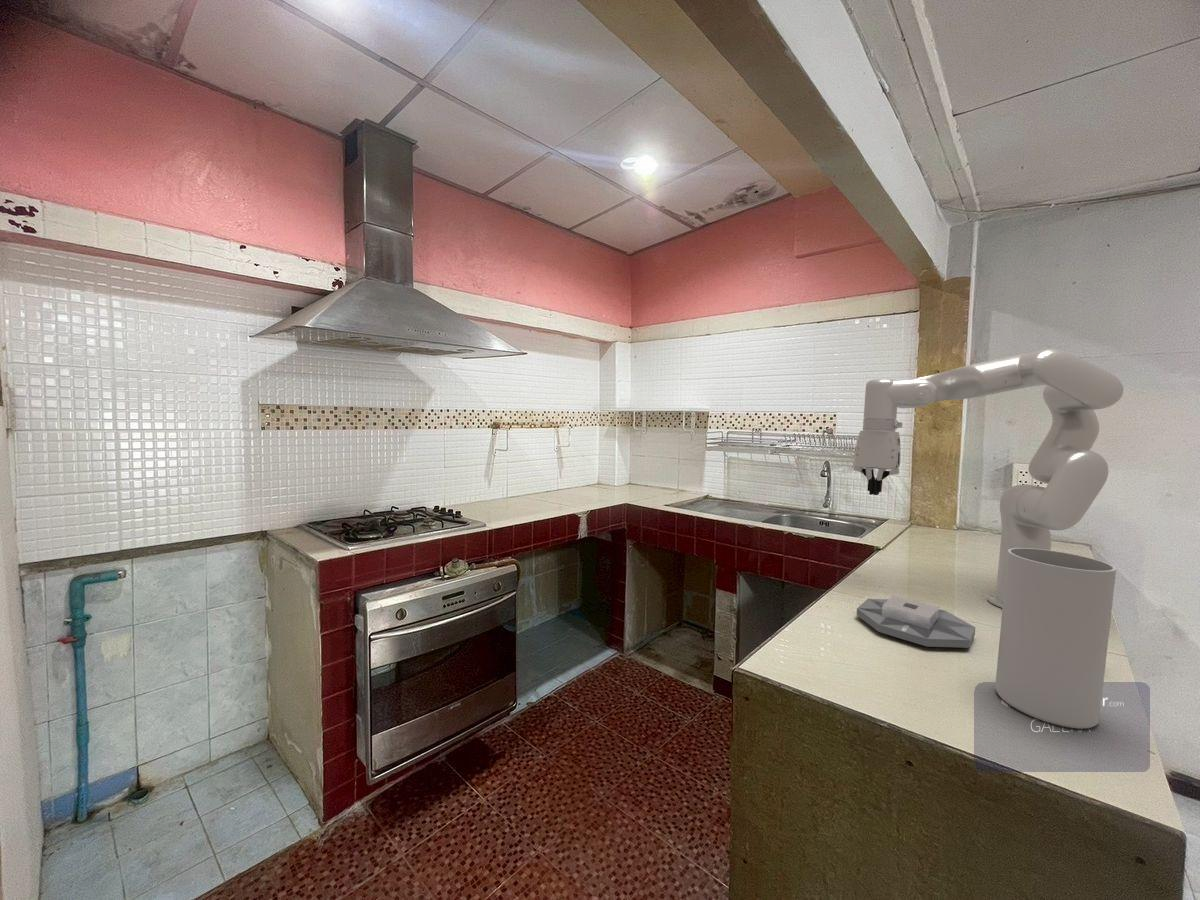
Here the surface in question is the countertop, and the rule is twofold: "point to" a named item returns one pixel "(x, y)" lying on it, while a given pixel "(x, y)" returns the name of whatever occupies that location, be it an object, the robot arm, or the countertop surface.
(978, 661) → the countertop surface
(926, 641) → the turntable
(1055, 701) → the cylinder vase
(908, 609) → the cover
